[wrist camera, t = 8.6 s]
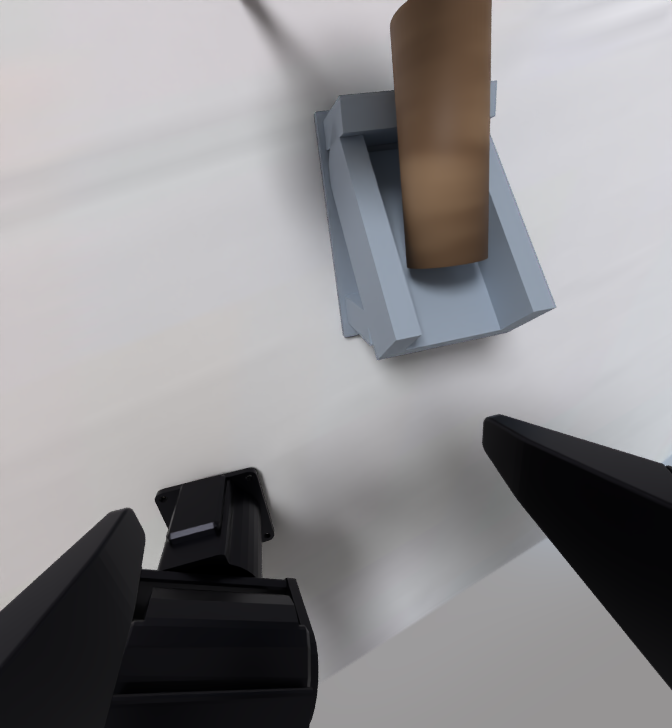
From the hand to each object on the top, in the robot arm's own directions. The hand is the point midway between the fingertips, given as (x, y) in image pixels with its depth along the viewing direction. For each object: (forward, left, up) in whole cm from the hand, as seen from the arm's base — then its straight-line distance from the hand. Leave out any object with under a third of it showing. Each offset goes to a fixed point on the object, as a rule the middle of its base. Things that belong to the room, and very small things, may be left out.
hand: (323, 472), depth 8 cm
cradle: (+4, -7, -12) cm, 15 cm away
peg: (+3, -7, -7) cm, 10 cm away
